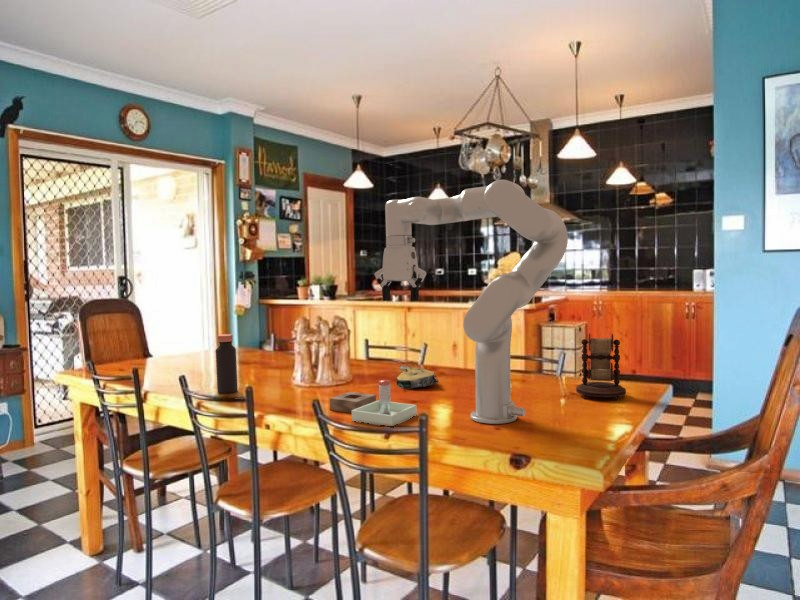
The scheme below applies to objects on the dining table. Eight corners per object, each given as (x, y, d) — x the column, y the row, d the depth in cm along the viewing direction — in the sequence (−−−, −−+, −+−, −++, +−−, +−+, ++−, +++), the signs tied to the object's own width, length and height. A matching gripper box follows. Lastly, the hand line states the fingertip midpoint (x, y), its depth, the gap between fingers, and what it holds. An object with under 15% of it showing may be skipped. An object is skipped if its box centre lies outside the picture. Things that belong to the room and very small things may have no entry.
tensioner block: (376, 406, 174) (375, 394, 174) (356, 413, 165) (356, 401, 165) (350, 402, 179) (349, 391, 179) (329, 409, 171) (329, 398, 171)
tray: (416, 415, 162) (416, 405, 162) (391, 427, 151) (391, 416, 151) (378, 410, 169) (378, 400, 169) (351, 421, 158) (351, 410, 157)
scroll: (624, 392, 184) (624, 330, 183) (627, 403, 170) (627, 336, 169) (576, 390, 189) (576, 330, 188) (576, 400, 175) (575, 335, 174)
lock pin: (392, 415, 160) (392, 380, 160) (386, 418, 157) (386, 382, 157) (383, 414, 162) (382, 379, 161) (377, 416, 159) (376, 381, 159)
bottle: (231, 394, 196) (229, 336, 195) (213, 393, 197) (211, 336, 196) (241, 389, 203) (238, 333, 201) (223, 389, 204) (221, 333, 203)
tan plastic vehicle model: (424, 357, 224) (439, 371, 194) (427, 372, 224) (442, 388, 194) (389, 364, 222) (398, 380, 192) (392, 379, 223) (401, 397, 193)
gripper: (431, 241, 166) (432, 300, 167) (381, 244, 175) (383, 299, 176) (418, 241, 159) (419, 302, 160) (367, 243, 168) (369, 301, 169)
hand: (400, 300), depth 168 cm, fingers open, 9 cm apart
